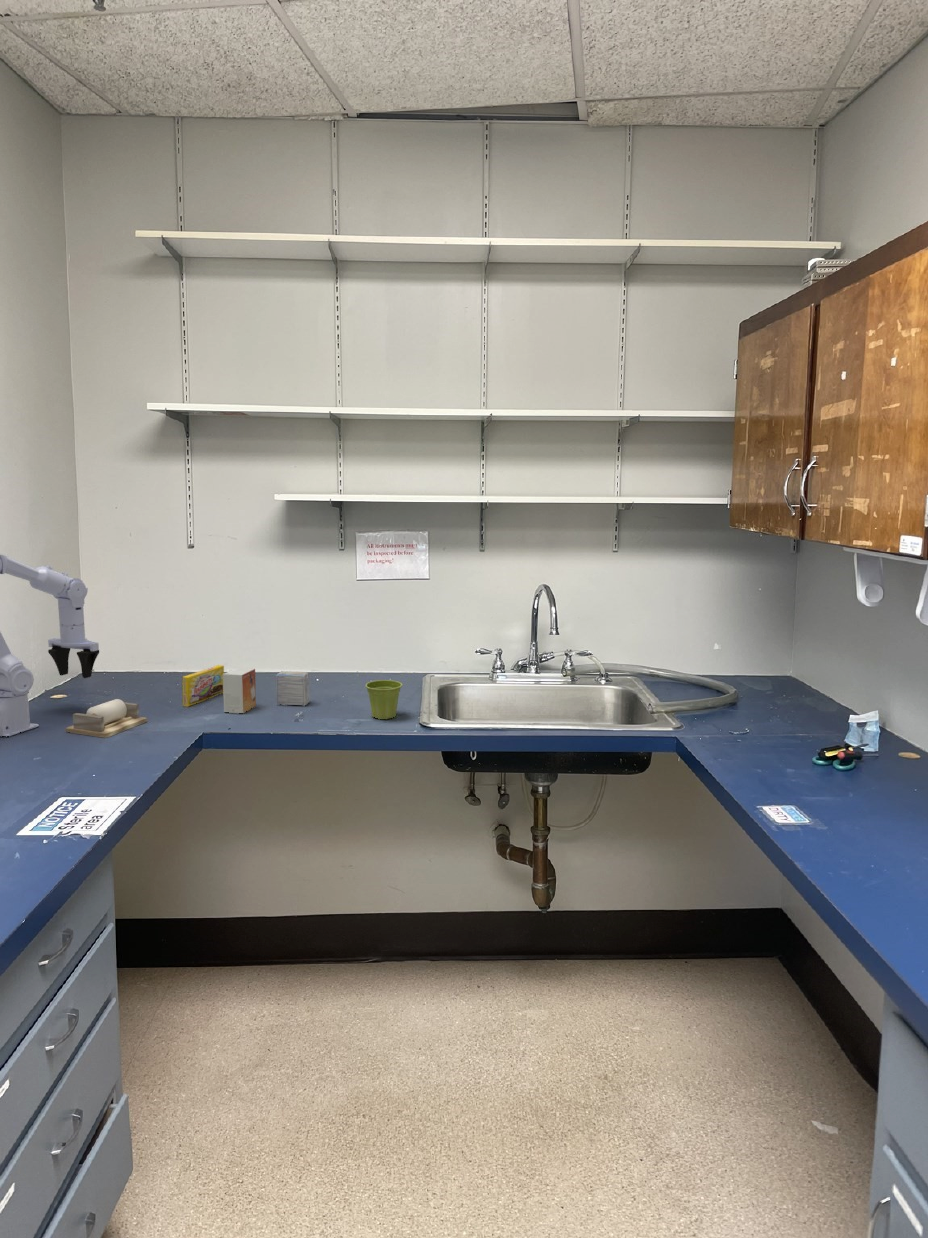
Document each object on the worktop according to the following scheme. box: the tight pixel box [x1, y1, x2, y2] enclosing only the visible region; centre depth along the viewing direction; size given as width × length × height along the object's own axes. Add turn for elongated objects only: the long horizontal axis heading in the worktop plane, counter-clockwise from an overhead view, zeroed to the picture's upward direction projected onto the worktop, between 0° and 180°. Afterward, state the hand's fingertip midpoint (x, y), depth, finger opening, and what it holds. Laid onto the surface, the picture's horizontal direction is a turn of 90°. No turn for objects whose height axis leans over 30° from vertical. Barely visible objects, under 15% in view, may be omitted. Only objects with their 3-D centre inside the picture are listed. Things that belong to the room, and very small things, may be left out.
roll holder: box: [65, 701, 148, 739], centre depth 199 cm, size 14×12×4 cm
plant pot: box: [365, 679, 403, 720], centre depth 211 cm, size 9×9×9 cm
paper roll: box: [85, 698, 127, 725], centre depth 199 cm, size 8×5×5 cm, turn 161°
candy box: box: [182, 664, 225, 708], centre depth 225 cm, size 16×2×8 cm, turn 161°
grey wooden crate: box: [275, 670, 310, 706], centre depth 221 cm, size 8×4×9 cm, turn 84°
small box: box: [222, 667, 257, 714], centre depth 215 cm, size 8×6×10 cm
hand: (75, 676), depth 211 cm, fingers open, 7 cm apart
